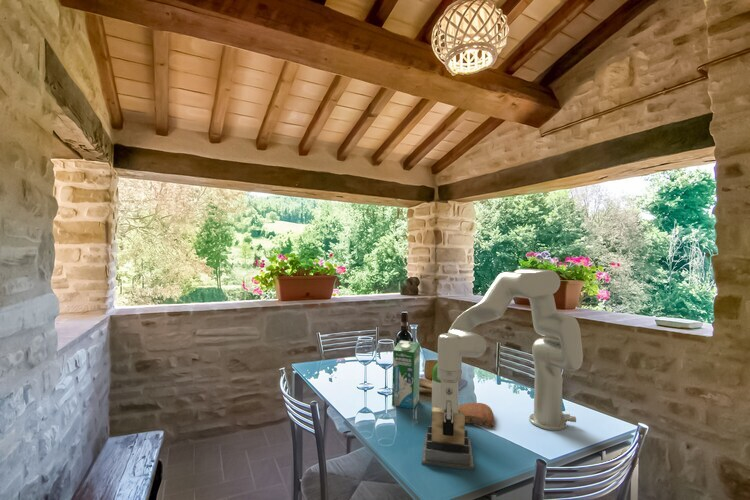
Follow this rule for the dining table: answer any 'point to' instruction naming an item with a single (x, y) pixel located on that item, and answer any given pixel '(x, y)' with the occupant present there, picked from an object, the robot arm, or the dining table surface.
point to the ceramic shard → (478, 414)
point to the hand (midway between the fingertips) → (448, 431)
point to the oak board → (457, 431)
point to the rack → (447, 453)
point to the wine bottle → (436, 390)
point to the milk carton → (406, 374)
